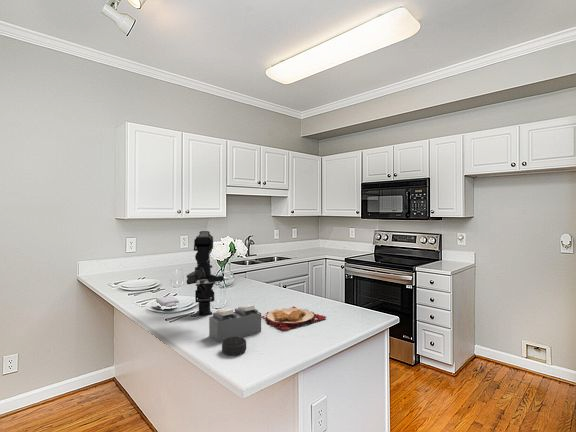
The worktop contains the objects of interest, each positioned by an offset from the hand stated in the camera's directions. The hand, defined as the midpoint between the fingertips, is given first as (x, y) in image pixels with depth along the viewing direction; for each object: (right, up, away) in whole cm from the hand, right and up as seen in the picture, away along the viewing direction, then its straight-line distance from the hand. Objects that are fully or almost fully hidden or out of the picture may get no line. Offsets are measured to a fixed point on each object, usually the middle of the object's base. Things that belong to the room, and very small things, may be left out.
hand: (206, 299), depth 155 cm
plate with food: (+37, -13, +11) cm, 40 cm away
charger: (-25, -11, +26) cm, 38 cm away
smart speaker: (+16, -13, -26) cm, 34 cm away
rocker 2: (+18, -2, -7) cm, 20 cm away
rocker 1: (+10, -2, -13) cm, 17 cm away
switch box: (+14, -12, -9) cm, 21 cm away
